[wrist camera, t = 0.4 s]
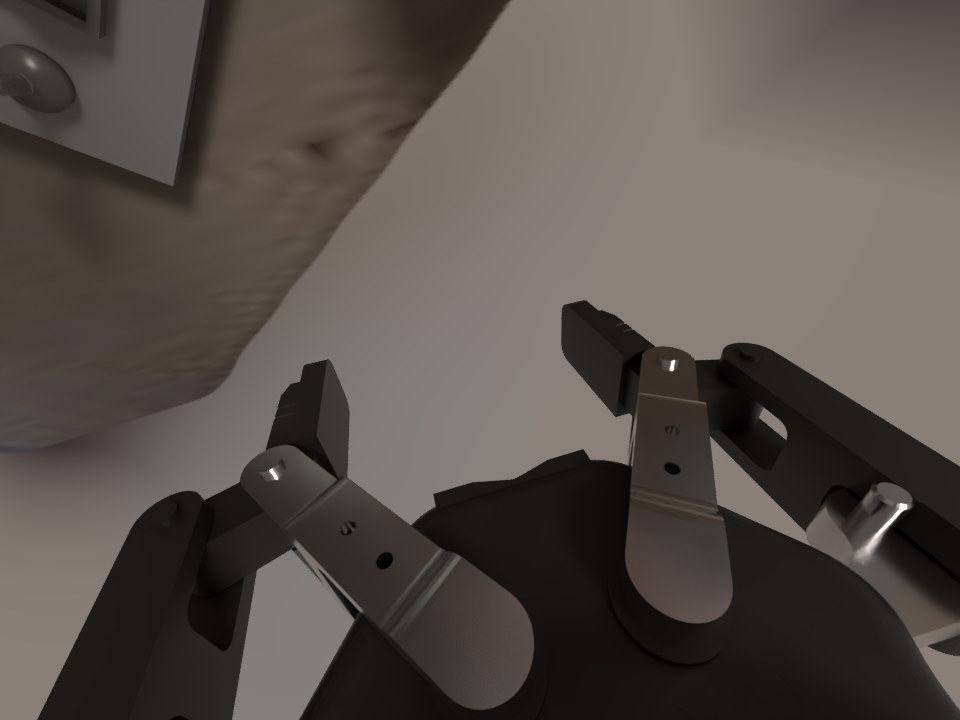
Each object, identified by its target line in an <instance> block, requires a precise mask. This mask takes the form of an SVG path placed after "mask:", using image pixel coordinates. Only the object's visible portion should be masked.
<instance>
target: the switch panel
mask: <svg viewBox="0 0 960 720" xmlns="http://www.w3.org/2000/svg"><path fill="white" fill-rule="evenodd" d="M209 5H210V0H0V72H15V73H19V74H22V75H24V76H25V77H27V78H28V79H29V80H30V81H31V82H32V83H33V85H34V92H33V93H32V94H31V95H23V96H3V97H0V122H1V123H3V124H6V125H9V126H11V127H14V128H17V129H20V130H22V131H25V132H28V133H30V134H33V135H36V136H38V137H41V138H44V139H46V140H49V141H52V142H55V143H57V144H60V145H63V146H65V147H68V148H71V149H73V150H76V151H79V152H82V153H84V154H87V155H90V156H92V157H95V158H98V159H100V160H103V161H106V162H108V163H111V164H114V165H117V166H119V167H122V168H125V169H127V170H130V171H133V172H135V173H138V174H141V175H144V176H146V177H149V178H152V179H154V180H157V181H160V182H162V183H165V184H168V185H170V186H174V183H175V181H176V179H177V176H178V174H179V172H180V169H181V163H182V158H183V152H184V146H185V141H186V135H187V129H188V124H189V118H190V113H191V107H192V101H193V96H194V90H195V84H196V79H197V73H198V67H199V62H200V56H201V50H202V45H203V39H204V34H205V28H206V22H207V17H208V11H209Z"/></svg>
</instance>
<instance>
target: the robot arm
mask: <svg viewBox="0 0 960 720" xmlns="http://www.w3.org/2000/svg"><path fill="white" fill-rule="evenodd" d="M561 334H562V335H561V336H562V338H561V344H562V350H563V353H564V356H565V358H566V359H567V360H568V362H569V363H570V364H571V365H572V366H573V367H574V369H575V370H576V371H577V372H578V373H579V375H580V376H581V377H582V378H583V379H584V380H585V382H586V383H587V384H588V385H589V386H590V387H591V389H592V390H593V391H594V392H595V393H596V395H597V396H598V397H599V398H600V399H601V400H602V402H603V403H604V404H605V405H606V406H607V407H608V409H609V410H610V411H611V412H612V413H613V415H614V416H615V417H617V416H621V415H624V414H628V413H630V414H631V415H632V422H631V430H630V439H629V448H628V457H627V465H625V464H622V463H618V462H612V461H605V460H590V459H589V457H588V456H587V454H586V453H585V451H584V450H583V449H582V450H579V451H576V452H572V453H569V454H566V455H563V456H559V457H556V458H552V459H549V460H547V461H545V462H543V463H542V464H540V465H538V466H537V467H535V468H533V469H531V470H530V471H528V472H526V473H524V474H523V475H521V476H519V477H517V478H515V479H511V480H500V481H488V482H487V481H486V482H472V483H469V484H466V485H462V486H459V487H455V488H452V489H449V490H446V491H442V492H439V493H435V494H434V500H435V505H436V507H434V508H432V509H431V510H429V511H428V512H426V513H425V514H423V515H422V516H421V517H420V518H419V519H417V520H416V521H415V522H414V523H413V524H412V525H409V524H408V523H407V522H405V521H404V520H403V519H402V518H400V517H399V516H397V515H396V514H395V513H394V512H392V511H391V510H390V509H388V508H387V507H386V506H384V505H383V504H382V503H380V502H379V501H378V500H377V499H375V498H374V497H373V496H371V495H370V494H368V493H367V492H366V491H365V490H363V489H362V488H361V487H359V486H358V485H357V484H355V483H354V482H353V481H352V480H350V479H349V478H347V469H348V441H349V407H348V402H347V399H346V396H345V394H344V391H343V389H342V386H341V384H340V381H339V379H338V377H337V374H336V372H335V370H334V367H333V365H332V363H331V361H330V360H324V361H319V362H315V363H311V364H307V365H304V367H303V371H302V376H301V380H300V382H297V383H293V384H290V386H289V387H288V388H287V389H286V391H285V392H284V393H283V394H282V395H281V398H280V401H279V405H278V410H277V412H276V415H275V419H274V422H273V426H272V429H271V433H270V436H269V440H268V443H267V447H266V450H265V451H264V452H262V453H260V454H259V455H258V456H256V457H255V458H254V459H252V460H251V461H250V462H249V463H248V464H247V466H246V467H245V468H244V470H243V472H242V474H241V477H240V482H239V483H237V484H236V485H234V486H232V487H230V488H228V489H226V490H224V491H222V492H220V493H218V494H216V495H214V496H212V497H210V498H208V499H206V500H204V499H203V498H202V497H201V496H200V495H199V494H198V493H197V492H193V491H184V492H179V493H176V494H173V495H170V496H168V497H166V498H164V499H162V500H160V501H159V502H157V503H156V504H154V505H153V506H151V507H150V508H149V509H147V510H146V511H145V512H144V513H143V514H142V515H141V516H140V517H139V518H138V519H137V521H136V522H135V523H134V525H133V527H132V528H131V530H130V532H129V534H128V536H127V538H126V540H125V542H124V544H123V546H122V548H121V551H120V552H119V554H118V556H117V558H116V560H115V563H114V565H113V567H112V569H111V571H110V573H109V575H108V577H107V579H106V581H105V583H104V585H103V587H102V589H101V591H100V593H99V595H98V597H97V599H96V601H95V603H94V605H93V607H92V609H91V612H90V613H89V615H88V617H87V620H86V622H85V624H84V626H83V628H82V630H81V632H80V634H79V636H78V638H77V640H76V642H75V644H74V646H73V648H72V650H71V652H70V654H69V656H68V658H67V660H66V662H65V665H64V666H63V668H62V670H61V672H60V674H59V677H58V678H57V681H56V682H55V685H54V687H53V689H52V691H51V693H50V695H49V697H48V699H47V701H46V703H45V705H44V707H43V709H42V711H41V713H40V715H39V717H38V719H37V720H232V716H233V710H234V704H235V698H236V691H237V686H238V680H239V674H240V668H241V662H242V656H243V650H244V644H245V638H246V631H247V626H248V619H249V614H250V608H251V602H252V596H253V590H254V584H255V578H256V572H257V569H259V568H261V567H262V566H264V565H266V564H267V563H269V562H270V561H272V560H274V559H276V558H277V557H279V556H281V555H282V554H284V553H286V552H287V551H289V550H291V551H292V552H293V553H294V554H295V556H296V557H297V558H298V559H299V560H300V561H301V562H302V563H303V564H304V565H305V566H306V568H307V569H308V570H309V571H310V572H311V573H312V574H313V575H314V576H315V577H316V579H317V580H318V581H319V582H320V583H321V584H322V585H323V586H324V587H325V588H326V590H327V591H328V592H329V593H330V594H331V595H332V597H333V598H334V599H335V600H336V601H337V603H338V604H339V605H340V606H341V607H342V609H343V610H344V611H345V612H346V613H347V614H348V616H349V617H350V618H351V619H352V620H353V621H354V622H353V624H352V626H351V628H350V630H349V631H348V633H347V635H346V637H345V639H344V640H343V642H342V644H341V646H340V647H339V649H338V651H337V653H336V655H335V656H334V658H333V660H332V662H331V664H330V665H329V667H328V669H327V671H326V673H325V674H324V676H323V678H322V680H321V682H320V683H319V685H318V687H317V689H316V691H315V692H314V694H313V696H312V698H311V700H310V701H309V703H308V705H307V707H306V709H305V710H304V712H303V714H302V716H301V718H300V719H299V720H960V710H959V708H958V707H957V706H956V705H955V703H954V702H953V701H952V699H951V698H950V697H949V695H948V694H947V693H946V691H945V690H944V688H943V687H942V685H941V684H940V683H939V681H938V680H937V679H936V677H935V675H934V674H933V672H932V671H931V669H930V667H929V666H928V664H927V663H926V661H925V660H924V658H923V656H922V654H921V653H920V651H919V648H922V647H925V646H928V647H931V648H932V649H935V650H937V651H940V652H942V653H945V654H949V655H953V656H960V466H958V465H957V464H955V463H953V462H952V461H950V460H948V459H947V458H945V457H943V456H942V455H940V454H939V453H937V452H936V451H934V450H932V449H931V448H929V447H927V446H926V445H924V444H923V443H921V442H919V441H918V440H916V439H914V438H913V437H911V436H909V435H908V434H906V433H905V432H903V431H902V430H900V429H898V428H897V427H895V426H893V425H892V424H890V423H889V422H887V421H885V420H884V419H882V418H881V417H879V416H877V415H875V414H874V413H873V412H871V411H869V410H868V409H866V408H864V407H862V406H861V405H860V404H858V403H856V402H855V401H853V400H852V399H850V398H848V397H847V396H845V395H844V394H842V393H840V392H839V391H837V390H835V389H834V388H832V387H831V386H829V385H827V384H826V383H824V382H823V381H821V380H819V379H818V378H816V377H814V376H813V375H811V374H810V373H808V372H806V371H805V370H803V369H801V368H800V367H798V366H797V365H795V364H793V363H792V362H790V361H789V360H787V359H785V358H784V357H782V356H781V355H779V354H777V353H776V352H774V351H772V350H770V349H768V348H766V347H763V346H760V345H756V344H751V343H734V344H730V345H728V346H726V347H725V348H724V349H723V352H722V355H721V358H720V359H719V360H694V358H693V357H692V356H691V355H690V354H688V353H687V352H685V351H683V350H680V349H677V348H673V347H664V346H662V347H655V346H654V345H652V344H651V343H650V342H649V341H647V340H646V339H645V338H644V337H642V336H641V335H640V334H638V333H637V332H636V331H635V330H632V328H631V327H629V326H628V325H627V324H624V322H623V321H622V320H621V319H619V318H618V317H617V316H615V315H613V314H610V313H608V312H605V311H602V310H601V311H598V310H597V309H596V308H595V307H593V306H592V305H591V304H590V303H588V302H587V301H585V300H583V301H579V302H574V303H570V304H566V305H564V306H563V308H562V332H561ZM763 407H764V408H765V409H767V410H768V411H769V412H771V413H772V414H773V415H774V416H776V417H777V418H778V419H779V420H780V421H781V422H782V423H783V424H784V426H785V427H786V430H787V435H788V436H787V440H785V439H784V438H783V437H782V436H780V435H779V434H778V433H776V432H775V431H774V430H773V429H772V428H771V427H769V426H768V425H767V424H766V423H765V422H763V421H762V420H761V419H760V418H759V416H760V414H761V411H762V409H763ZM710 436H711V437H712V438H713V439H714V440H715V441H716V442H717V443H718V444H719V446H720V447H722V448H723V450H724V451H725V452H726V453H727V454H729V456H730V457H731V458H732V459H734V461H735V462H736V463H737V464H739V465H740V467H741V468H742V469H743V470H744V471H745V472H746V473H748V475H749V476H750V477H751V478H752V479H753V480H754V481H755V482H756V483H757V484H758V485H759V486H760V487H761V488H762V489H763V490H764V491H765V492H766V493H767V494H768V495H769V496H770V497H771V498H772V499H773V500H774V501H775V502H776V503H777V504H778V505H779V506H780V507H781V508H782V509H783V510H784V511H785V512H786V513H787V514H788V515H789V516H790V517H791V518H792V519H793V520H794V521H795V522H796V523H797V524H798V525H799V526H800V527H801V528H802V529H803V530H804V531H805V532H806V536H807V540H808V542H809V544H810V546H809V545H807V544H804V543H802V542H800V541H798V540H796V539H793V538H791V537H789V536H786V535H784V534H782V533H780V532H777V531H775V530H773V529H771V528H769V527H766V526H764V525H762V524H760V523H757V522H755V521H753V520H751V519H748V518H746V517H744V516H742V515H739V514H737V513H735V512H733V511H731V510H728V509H726V508H724V507H722V506H719V505H717V498H716V489H715V480H714V470H713V461H712V452H711V443H710Z"/></svg>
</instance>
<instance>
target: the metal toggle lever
mask: <svg viewBox="0 0 960 720" xmlns="http://www.w3.org/2000/svg"><path fill="white" fill-rule="evenodd" d="M33 92H34V85H33V83H32V82H31V81H30V80H29V79H28V78H27V77H25V76H24V75H22V74H19V73H15V72H0V97H3V96H23V95H31V94H32V93H33Z"/></svg>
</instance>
